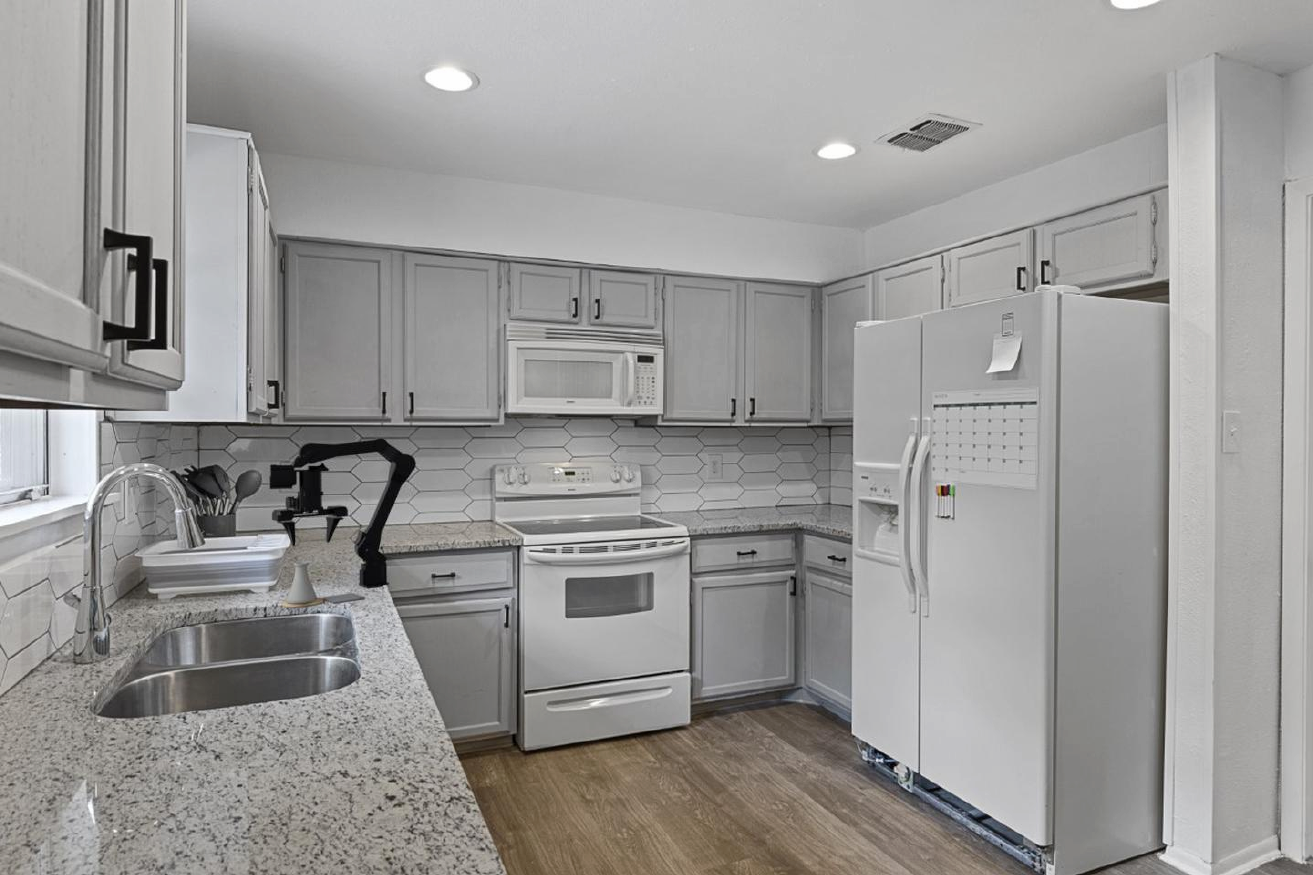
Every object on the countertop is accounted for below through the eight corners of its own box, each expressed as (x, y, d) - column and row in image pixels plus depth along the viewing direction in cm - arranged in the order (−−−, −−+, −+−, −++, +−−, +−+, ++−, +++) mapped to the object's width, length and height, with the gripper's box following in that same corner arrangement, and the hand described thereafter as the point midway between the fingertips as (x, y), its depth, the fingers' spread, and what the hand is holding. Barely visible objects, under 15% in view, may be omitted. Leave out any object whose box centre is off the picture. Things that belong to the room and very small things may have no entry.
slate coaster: (352, 594, 212) (352, 593, 212) (364, 599, 207) (364, 597, 207) (322, 598, 207) (322, 597, 207) (333, 603, 201) (333, 602, 201)
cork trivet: (315, 597, 209) (315, 595, 209) (329, 603, 202) (329, 601, 202) (275, 602, 203) (275, 601, 203) (288, 609, 195) (288, 607, 195)
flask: (323, 599, 205) (322, 561, 205) (304, 605, 198) (304, 565, 198) (299, 598, 207) (298, 560, 206) (279, 604, 199) (279, 564, 199)
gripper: (333, 484, 229) (334, 538, 229) (265, 488, 217) (265, 544, 217) (348, 486, 221) (349, 542, 221) (278, 490, 208) (278, 549, 209)
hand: (311, 544), depth 217 cm, fingers open, 9 cm apart
